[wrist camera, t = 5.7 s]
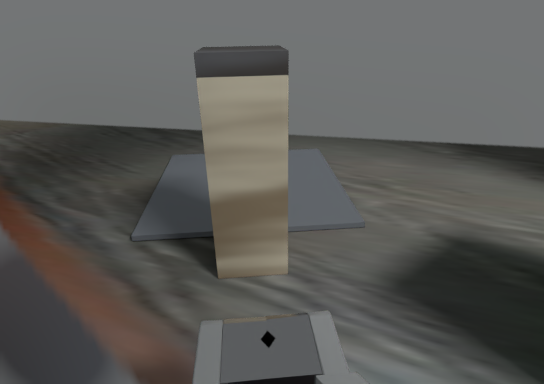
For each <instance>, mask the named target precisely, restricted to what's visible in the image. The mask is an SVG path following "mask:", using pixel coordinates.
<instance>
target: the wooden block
mask: <svg viewBox="0 0 544 384" xmlns="http://www.w3.org/2000/svg"><path fill="white" fill-rule="evenodd" d="M194 59H195V68H196V78H197V87H198V96H199V105H200V115H201V124H202V133H203V142H204V152H205V161H206V170H207V179H208V189H209V198H210V207H211V216H212V226H213V235H214V244H215V253H216V263H217V272H218V279H222V278H236V277H251V276H265V275H280V274H288V50H286V49H284V48H282V47H281V46H242V47H241V46H239V47H203V48H201V49H200V50H198V51H196V52H194Z"/></svg>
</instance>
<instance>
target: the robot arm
mask: <svg viewBox="0 0 544 384" xmlns="http://www.w3.org/2000/svg"><path fill="white" fill-rule="evenodd" d="M192 384H369V383H368V382H367V381H366V380H365V379H364V378H363V377H362V376H361V375H360V374H358V373H357V372H349V368H348V365H347V362H346V359H345V356H344V353H343V350H342V347H341V344H340V341H339V338H338V334H337V331H336V328H335V325H334V322H333V319H332V316H331V313H330V312H329V311H319V312H308V313H296V314H286V315H275V316H266V317H254V318H236V319H224V320H209V321H202V322H201V324H200V327H199V335H198V342H197V350H196V358H195V366H194V373H193V381H192Z"/></svg>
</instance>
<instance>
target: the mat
mask: <svg viewBox="0 0 544 384" xmlns="http://www.w3.org/2000/svg"><path fill="white" fill-rule="evenodd" d="M364 225H365V222H364V220H363V219H362V217H361V215H360V214H359V212H358V211H357V209H356V207H355V206H354V204H353V203H352V201H351V200H350V198H349V196H348V195H347V193H346V192H345V190H344V188H343V187H342V185H341V184H340V182H339V181H338V179H337V177H336V176H335V174H334V173H333V171H332V170H331V168H330V166H329V165H328V163H327V162H326V160H325V158H324V157H323V155H322V154H321V152H320V151H319V149H299V150H288V232H291V231H307V230H324V229H340V228H357V227H364ZM208 236H214V235H213V226H212V216H211V207H210V198H209V189H208V179H207V170H206V161H205V154H186V155H173V156H172V157H171V159H170V161H169V163H168V165H167V167H166V169H165V171H164V173H163V175H162V177H161V179H160V181H159V183H158V185H157V187H156V189H155V191H154V193H153V194H152V196H151V198H150V200H149V202H148V204H147V206H146V208H145V210H144V212H143V214H142V216H141V218H140V220H139V222H138V224H137V226H136V228H135V230H134V231H133V233H132V235H131V238H132V241H142V240H158V239H175V238H191V237H208Z"/></svg>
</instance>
